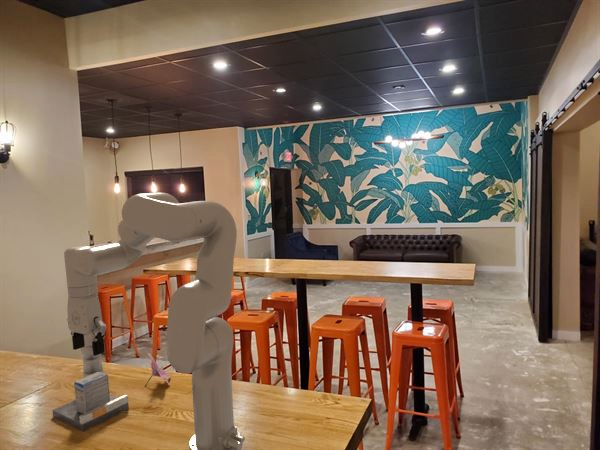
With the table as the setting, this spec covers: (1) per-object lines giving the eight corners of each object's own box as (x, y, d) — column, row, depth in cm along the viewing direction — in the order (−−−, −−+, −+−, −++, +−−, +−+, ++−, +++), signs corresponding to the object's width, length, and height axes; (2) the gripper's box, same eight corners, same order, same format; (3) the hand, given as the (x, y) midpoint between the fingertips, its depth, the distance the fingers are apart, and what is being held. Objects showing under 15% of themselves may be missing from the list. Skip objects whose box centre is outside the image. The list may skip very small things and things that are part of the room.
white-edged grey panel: (129, 409, 134) (128, 395, 134) (83, 432, 122) (82, 417, 122) (98, 396, 143) (97, 383, 142) (53, 416, 131) (51, 403, 131)
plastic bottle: (97, 390, 147) (92, 329, 145) (78, 389, 148) (73, 328, 146) (109, 381, 153) (104, 322, 151) (91, 380, 154) (86, 321, 152)
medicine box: (100, 399, 136) (98, 371, 135) (110, 402, 134) (108, 373, 133) (76, 411, 129) (73, 381, 129) (86, 415, 127) (83, 385, 126)
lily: (158, 399, 142) (172, 369, 143) (125, 382, 144) (139, 353, 145) (171, 393, 154) (184, 365, 155) (141, 378, 155) (153, 351, 157)
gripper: (53, 291, 130) (59, 350, 132) (88, 297, 120) (94, 361, 122) (78, 285, 136) (84, 342, 138) (114, 291, 127) (119, 351, 128)
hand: (88, 351), depth 130 cm, fingers open, 9 cm apart
